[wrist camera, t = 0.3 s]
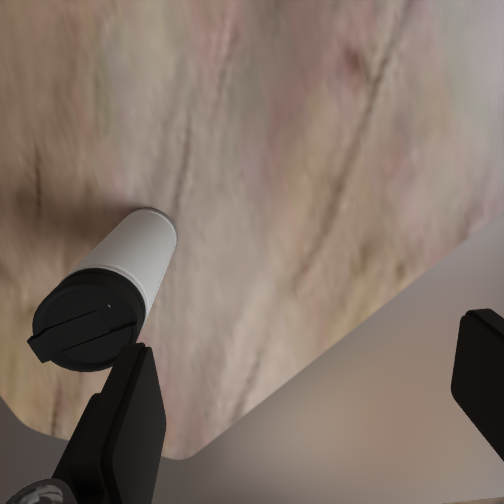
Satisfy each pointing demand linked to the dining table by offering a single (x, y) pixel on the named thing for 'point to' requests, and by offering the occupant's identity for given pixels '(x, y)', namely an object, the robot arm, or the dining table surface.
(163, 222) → the travel mug
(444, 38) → the dining table surface
